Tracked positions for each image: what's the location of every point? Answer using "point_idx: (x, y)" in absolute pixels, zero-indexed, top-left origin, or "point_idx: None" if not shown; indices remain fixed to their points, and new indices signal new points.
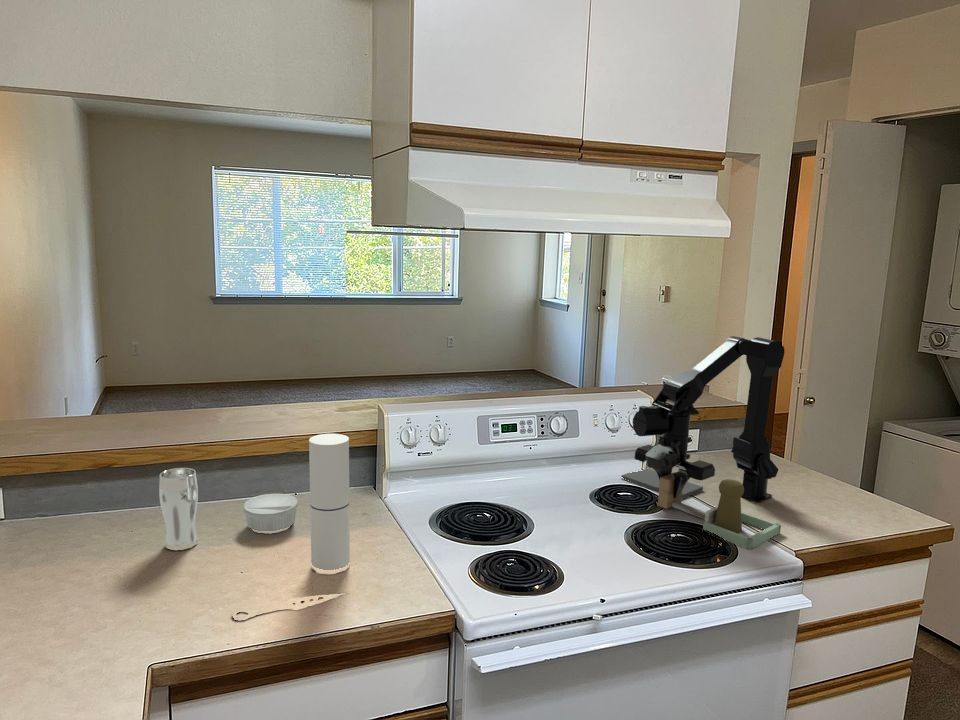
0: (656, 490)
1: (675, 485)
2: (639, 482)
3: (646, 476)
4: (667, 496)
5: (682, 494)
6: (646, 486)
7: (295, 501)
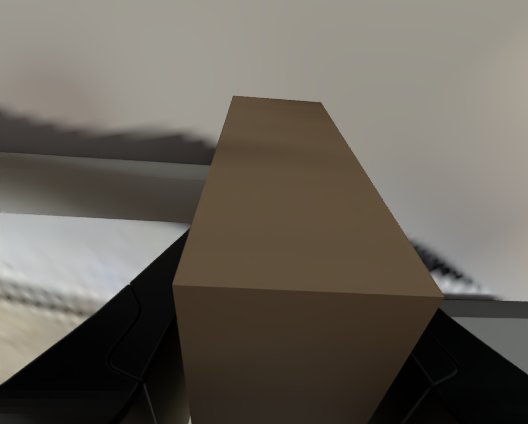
0: None
1: (168, 295)
2: None
3: None
4: (224, 133)
5: None
6: (487, 305)
7: None
